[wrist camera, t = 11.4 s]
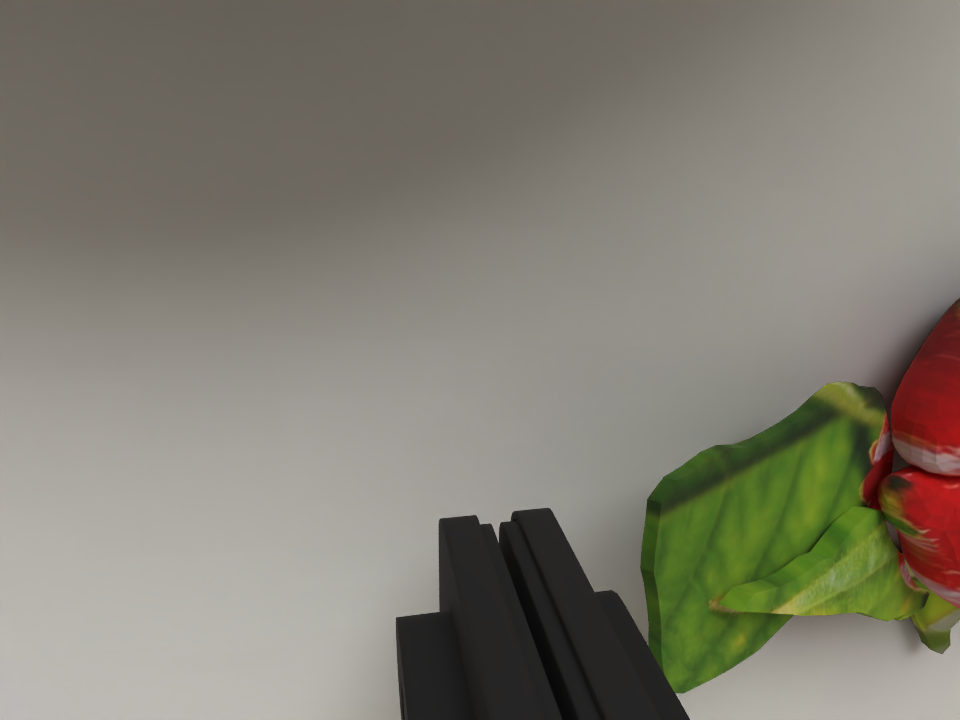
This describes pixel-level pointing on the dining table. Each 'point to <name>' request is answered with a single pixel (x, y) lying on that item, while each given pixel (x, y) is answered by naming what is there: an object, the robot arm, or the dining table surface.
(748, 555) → the decorative ornament
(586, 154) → the dining table surface
